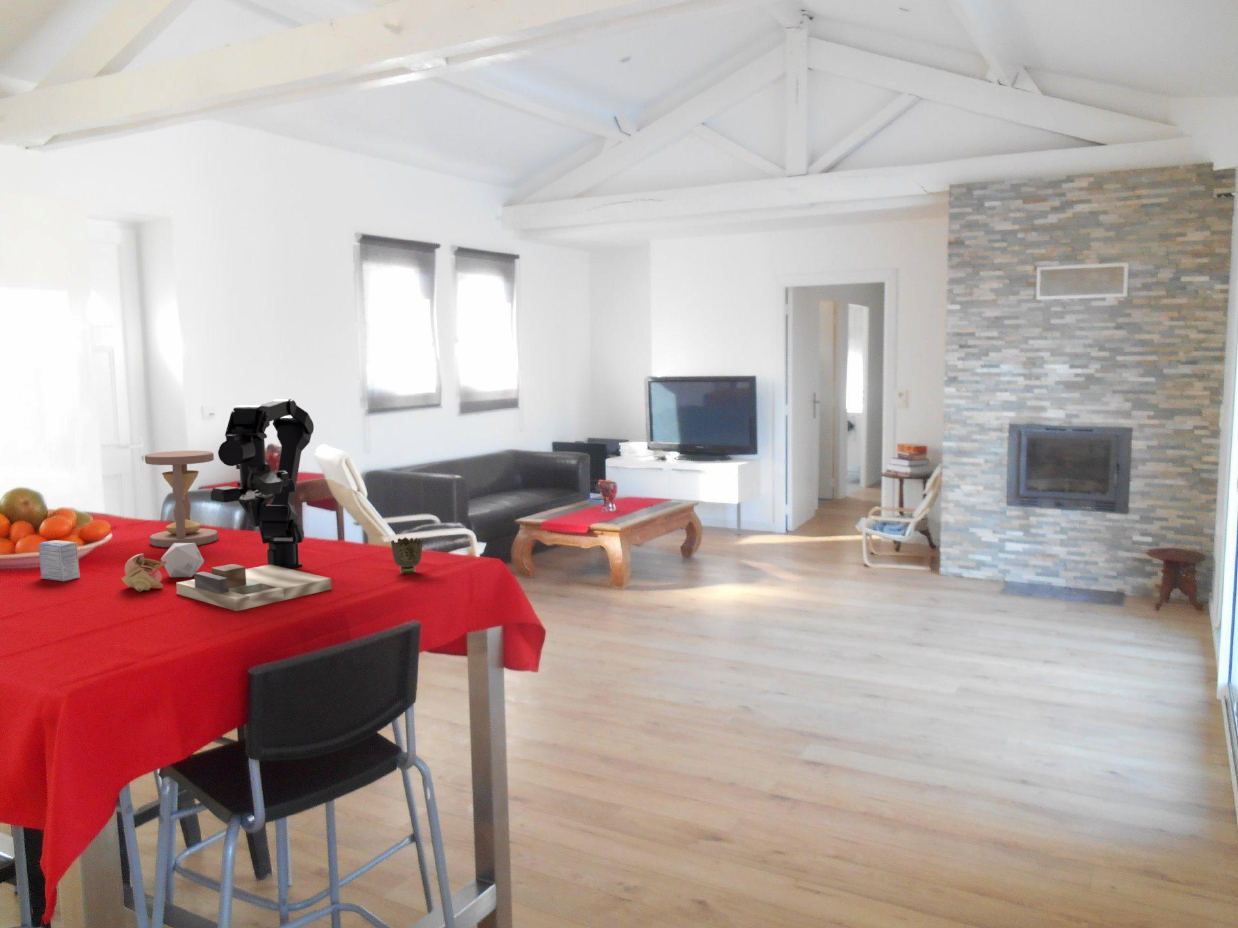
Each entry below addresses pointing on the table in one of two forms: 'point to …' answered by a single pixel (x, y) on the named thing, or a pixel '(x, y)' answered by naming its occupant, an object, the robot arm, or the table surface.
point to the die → (182, 560)
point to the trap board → (253, 587)
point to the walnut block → (231, 574)
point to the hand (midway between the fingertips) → (256, 526)
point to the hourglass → (181, 498)
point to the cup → (407, 554)
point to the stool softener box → (59, 560)
